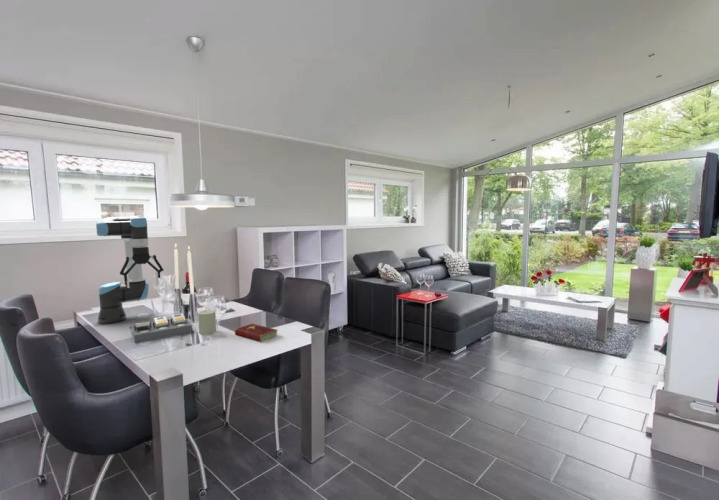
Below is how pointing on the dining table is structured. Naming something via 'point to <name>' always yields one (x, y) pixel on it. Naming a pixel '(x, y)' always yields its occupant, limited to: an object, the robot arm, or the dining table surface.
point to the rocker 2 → (178, 318)
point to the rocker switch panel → (160, 330)
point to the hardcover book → (256, 332)
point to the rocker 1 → (143, 324)
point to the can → (207, 322)
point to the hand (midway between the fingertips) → (143, 285)
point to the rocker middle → (160, 321)
